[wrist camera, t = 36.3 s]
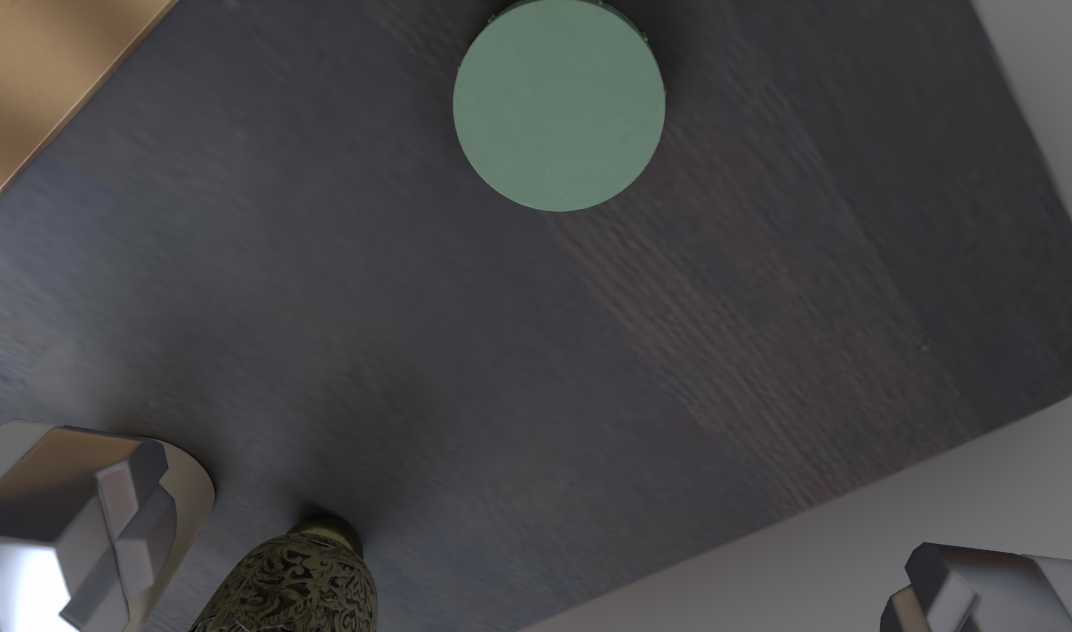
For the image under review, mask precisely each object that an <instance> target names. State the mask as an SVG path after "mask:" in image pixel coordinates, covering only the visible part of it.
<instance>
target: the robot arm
mask: <svg viewBox="0 0 1072 632" xmlns="http://www.w3.org/2000/svg"><path fill="white" fill-rule="evenodd" d="M168 468H169V467H168V463H167V459H166V454H165V450H164V446H163V444H161V443H159V442H157V441H155V440H153V439H148V438H142V437H136V436H130V435H123V434H117V433H111V432H104V431H98V430H92V429H85V428H79V427H73V426H67V425H64V426H59V425H53V424H47V423H41V422H35V421H29V420H23V419H17V420H14V421H11V422H8V423H5V424H2V425H1V426H0V632H123V631H124V630H125V628H126V626H127V625H128V623H129V622H130V620H131V619H130V612H129V606H128V600H129V599H131V598H132V597H134V596H136V595H137V594H139V593H141V592H142V591H144V590H146V589H147V588H149V587H151V586H152V585H154V583H155V581H156V580H157V578H158V576H159V575H160V573H161V572H162V570H163V568H164V567H165V565H166V563H167V561H168V558H169V555H170V552H171V549H172V546H173V543H174V540H175V537H176V528H177V511H176V505H175V499H174V498H173V497H172V496H171V495H170V494H169V493H168V492H167V491H166V490H165V488H164V487H163V486H162V485H161V484H160V483H159V481H160V479H161V478H162V477H163V475H164V474H165V473H166V471H167V470H168ZM905 570H906V572H907V575H908V577H909V579H910V582H911V584H910V585H908V586H907V587H905V588H903V589H901V590H900V591H898V592H896V593H894V594H893V595H891V596H890V598H889V600H888V602H887V605H886V607H885V609H884V612H883V614H882V616H881V622H880V632H1072V560H1068V559H1059V558H1051V557H1042V556H1034V555H1026V554H1021V555H1017V554H1013V553H1006V552H998V551H989V550H982V549H974V548H966V547H958V546H950V545H942V544H934V543H926V542H924V543H922V544H921V545H920V546H918V547H917V548H916V549H915V550H913V552H912V554H911V556H910V558H909V559H908V561H907V564H906V565H905Z"/></svg>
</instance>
